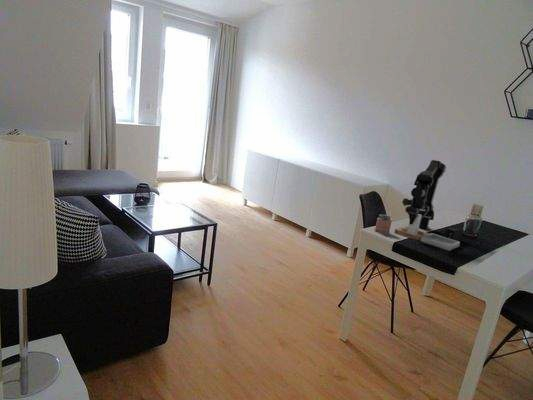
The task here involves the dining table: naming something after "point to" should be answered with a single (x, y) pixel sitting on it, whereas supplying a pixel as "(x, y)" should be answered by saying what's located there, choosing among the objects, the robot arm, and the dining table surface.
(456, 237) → the digital camera
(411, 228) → the skincare box
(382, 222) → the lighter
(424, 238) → the tray
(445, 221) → the dining table surface
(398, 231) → the socket block
